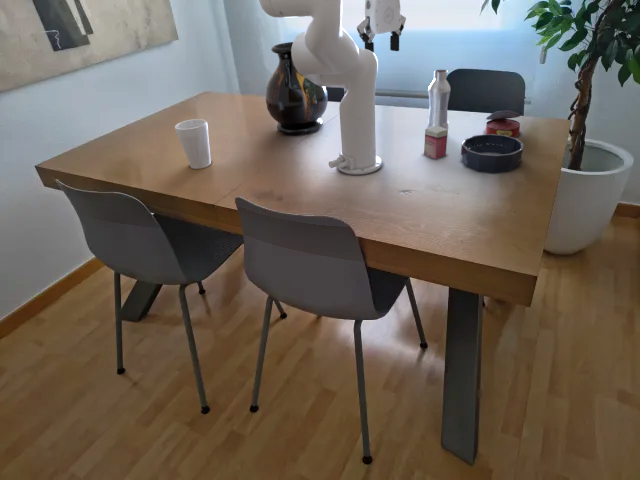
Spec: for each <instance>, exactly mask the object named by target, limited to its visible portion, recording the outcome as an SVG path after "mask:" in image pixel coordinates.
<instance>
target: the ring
mask: <svg viewBox="0 0 640 480" xmlns="http://www.w3.org/2000/svg"><path fill="white" fill-rule="evenodd" d="M524 146H525V144H524V143H523V142H522V141H521V140H520V139H518V138H516V137H514V138H513V137H509V136H505V135H495V134H477V135H473V136H470V137H468V138H465V139H463V142H462V144H461V149H460V155H461V156H462V158H461V159H462V161H461V162H462V164H463V165H464V166H465V167H466V168H468V169H471V170H473V171H476V172H479V173H489V174H491V173H492V174H497V173H505V172H510V171H512V170H514V169H516V168H518V167H519V163H520V161H522V157H523V151H524ZM486 153H487V154H486ZM488 153H493V154H488ZM495 153H496V154H495Z"/></svg>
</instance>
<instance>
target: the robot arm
mask: <svg viewBox="0 0 640 480" xmlns="http://www.w3.org/2000/svg"><path fill="white" fill-rule="evenodd" d="M258 1H259V4H260V7H261V9H262V10H263V12H264V13H265V14H266V15H268V16H270V17H272V18H281V19H282V18H283V19H285V18H312V19H311V21H310V22H309V24H308V25H307V28H306V30H305V31H303V32H301V33H298V35H297V36H295V38H294V39H293V41H292V42H293V44H292V49H291V54H292V60H293V63H294V66H295V68H296V69H297V71H298V72H299V73H300V74H301V75H303V76H304V77H305V78H307V79H308V80H310V81H311V82H313V83H314V84H316V85H318V86H321V87H326V88H340V89H346V93H345V94H344V96H343V97H342V99H341V101H340V103H339V108H338V109H339V124H340V139H341V140H340V141H341V152H339V153H338V157H337V158H336V159H332V160H330V161H328V167H329V168H330V169H334V168H336V167H337V169H338V171H340V172H342V173H344V174H348V175H365V174H371V173H373V172H376V171H378V170H379V169H380V168H381V167H382V165H383V163H382V159H381V158H380V157H379V156H377V153H376V152H377V150H376V149H377V147H376V146H377V143H376V142H377V141H376V136H377V135H376V87H377V85H376V84H377V78H378V72H379V60H378V57H377V55H376V53H375V42H374V41H373V40H374V37H375V36H376V35H382V34H386V33H387V34H388V33H390V34H391V35H390V37H389V50H390V51H392V52H400V37H401V36H402V32H403V30H404V28H405V24H406V20H407V18H406V17H405V16H404V15H402V12H401V11H402V10H401V0H365V2H364V15H363V16H364V17H363V20H362V21H361V22H360V23H359V24H358V25H357V26H356V31H357V33H358V35H359V38H360V39H361V40H362V42H363V43H364V48H360V47H358V45H357V43H356V42H355V40H354V39H353V37H352V36H351V35H350V34H349V33H348V32H347V31H346V30H345V29H344V28H343V26H342V21H343V20H342V18H343V0H258Z"/></svg>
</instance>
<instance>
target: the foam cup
mask: <svg viewBox="0 0 640 480" xmlns="http://www.w3.org/2000/svg"><path fill="white" fill-rule="evenodd" d="M174 131H175V134H176V136H177V138H178V141H179V142H180V144H181V145H180V146H181V147H182V149H183V152H184V154H185V158H186V160H187V162H188V164H189V166H190V168H191V169H194V170H198V169H204V168H207V167H209V166H210V165H211V163H212V162H211V161H212V159H211V150H210V149H211V148H210V139H209V138H210V137H209V125H208V121H207V120H206V119H202V118H193V119H187V120H183V121H180V122H178V123H176V124H175V125H174Z"/></svg>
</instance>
